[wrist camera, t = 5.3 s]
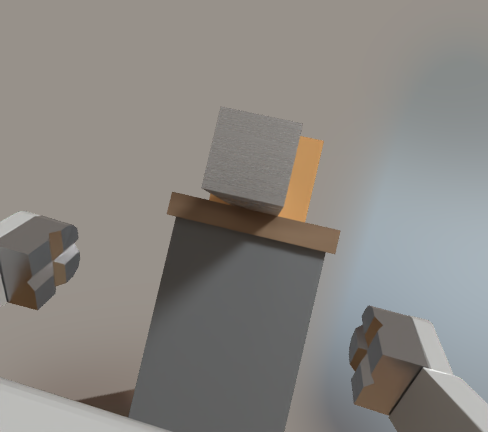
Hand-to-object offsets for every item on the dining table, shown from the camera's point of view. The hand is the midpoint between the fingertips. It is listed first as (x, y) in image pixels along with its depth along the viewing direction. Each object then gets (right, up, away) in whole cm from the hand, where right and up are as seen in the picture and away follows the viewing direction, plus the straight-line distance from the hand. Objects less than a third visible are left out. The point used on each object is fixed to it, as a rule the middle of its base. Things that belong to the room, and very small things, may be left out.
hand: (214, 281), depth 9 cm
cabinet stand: (-5, -27, +16) cm, 32 cm away
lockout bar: (+1, +2, +12) cm, 12 cm away
